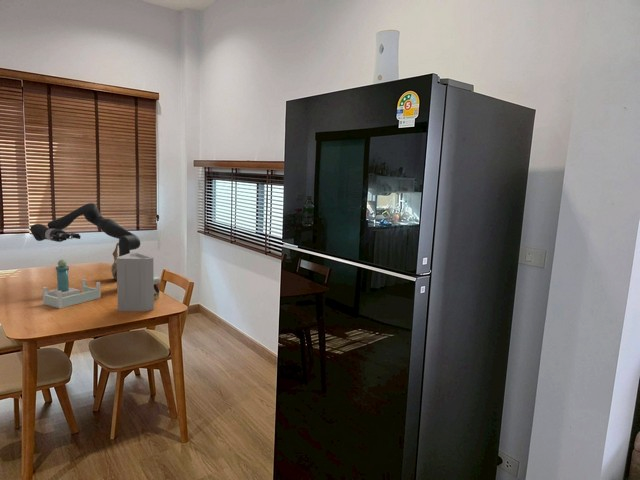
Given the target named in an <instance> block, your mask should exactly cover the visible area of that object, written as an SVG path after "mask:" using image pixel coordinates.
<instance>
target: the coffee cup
mask: <svg viewBox="0 0 640 480" xmlns="http://www.w3.org/2000/svg"><path fill="white" fill-rule="evenodd" d="M160 288H161V277H160V276H157V275H154V300H157V299H160Z"/></svg>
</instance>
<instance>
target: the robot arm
mask: <svg viewBox="0 0 640 480" xmlns="http://www.w3.org/2000/svg"><path fill="white" fill-rule="evenodd" d="M82 215H83V216H84V218H85V220H86V221H87V222H89V223H91V224H93V225H95V226H96V227H97V228H98V229H99V230H101V231H102V232H103V233H104V234H106V235H107V236H109V237H111V238H115V239H118V243H119V246H118V255H119V254H120V256H123V255H126V254H129V253H131V251H133V250H137V249H138V248H140V247H141V240H140V238H139V236H137V235H136V234H134V233H132V232H131V231H129V230H127V229H125V228H124V227H123V226H122V225H120V224H119V223H117V222H116V221H115V220H113V219H111V218H105V217H104V216H102V215H101V213H100V210H99V208H98V206H97V205H96V204H95V203H92V202H90V203H89V202H88V203H85V204H83V205H82V206H80V207H78V208H76V209H74V210H73V211H71V212H69V213H68V214H66V215H64V216H61V217H59V218H57V219H53V220H51V221H49V222H47V226H46V225H44V224H42V223H35V224H33V225H31V226H30V228H29V231H30V233H31V234H32V236H33V238H34V239H35V241H37V242H42V241H44V240H47V241H51V242H56V243H57V242H58V243H62V242H64V241H67V240H73V239H77V240H81V235H80V233H75V232H70V233H69V232H66V231H65V230H64V229H67V228H68V227H69V226H70V225H71V224H72V223H73V222H74V221H75V220H76V219H77V218H78V217H80V216H82Z"/></svg>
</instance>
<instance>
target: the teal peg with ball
mask: <svg viewBox="0 0 640 480" xmlns="http://www.w3.org/2000/svg"><path fill="white" fill-rule="evenodd" d="M69 269H70V267H69V265H67V261H66V260H64V259H60V260H58V262H57V266H55V271H56V281H57V282H56V283H57V289H58V291H62V292H65V291H69V287H70V285H69V284H70V282H69V281H70V279H69Z"/></svg>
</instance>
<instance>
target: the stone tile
mask: <svg viewBox="0 0 640 480" xmlns="http://www.w3.org/2000/svg"><path fill="white" fill-rule="evenodd" d="M57 291H58V288H55V289H50V290H47V294H48V295H50V296H54V297H57ZM80 293H81V289H78V288H73V287H70V286H69V291H65V292H62V298H63V297H67V296H71V295H76V294H80Z"/></svg>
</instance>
